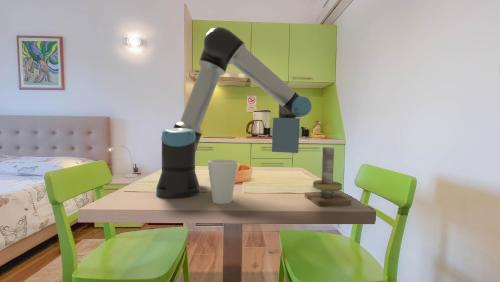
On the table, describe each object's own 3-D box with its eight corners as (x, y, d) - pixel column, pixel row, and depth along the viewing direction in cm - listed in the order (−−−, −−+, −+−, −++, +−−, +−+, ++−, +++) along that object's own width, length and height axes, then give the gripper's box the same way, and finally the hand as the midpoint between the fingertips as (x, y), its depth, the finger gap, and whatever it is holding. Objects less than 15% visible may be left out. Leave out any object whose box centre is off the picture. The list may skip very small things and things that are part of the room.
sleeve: (273, 149, 85) (274, 119, 85) (297, 151, 84) (298, 119, 83) (271, 151, 77) (273, 117, 76) (298, 153, 75) (299, 118, 75)
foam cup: (231, 206, 72) (232, 164, 72) (203, 204, 74) (203, 162, 74) (239, 198, 82) (240, 160, 81) (213, 195, 83) (214, 159, 83)
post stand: (304, 196, 85) (306, 146, 84) (332, 195, 87) (334, 146, 86) (319, 206, 74) (321, 148, 73) (351, 205, 76) (353, 149, 76)
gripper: (312, 142, 96) (319, 145, 74) (260, 140, 99) (252, 142, 77) (313, 123, 96) (320, 121, 74) (260, 122, 99) (253, 119, 77)
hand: (285, 132), depth 75 cm, fingers closed on sleeve, 8 cm apart
